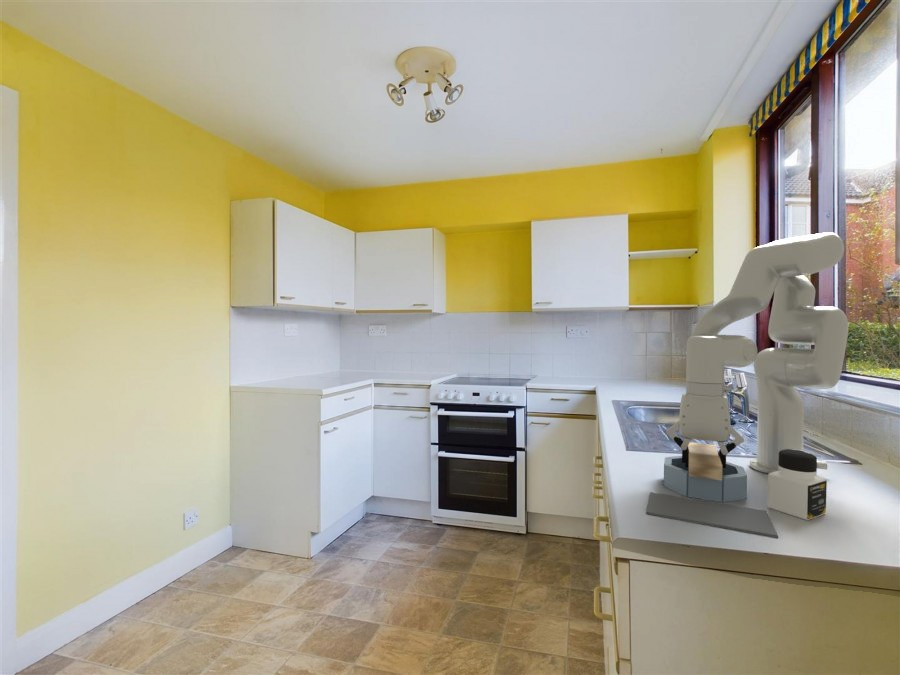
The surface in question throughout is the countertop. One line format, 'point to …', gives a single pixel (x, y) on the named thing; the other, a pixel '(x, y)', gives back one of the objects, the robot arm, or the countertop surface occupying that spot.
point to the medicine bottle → (797, 485)
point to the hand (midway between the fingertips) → (703, 467)
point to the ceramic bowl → (705, 482)
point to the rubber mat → (711, 514)
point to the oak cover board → (704, 461)
